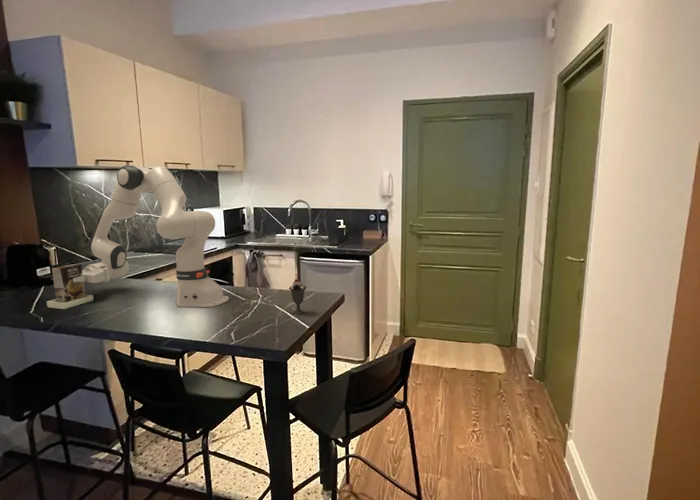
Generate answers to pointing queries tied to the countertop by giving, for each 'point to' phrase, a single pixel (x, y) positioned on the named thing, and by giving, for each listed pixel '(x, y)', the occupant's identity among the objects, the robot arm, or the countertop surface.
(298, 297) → the sundae
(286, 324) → the countertop surface
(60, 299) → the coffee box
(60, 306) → the tray
